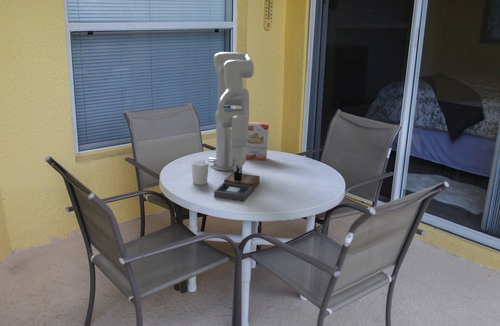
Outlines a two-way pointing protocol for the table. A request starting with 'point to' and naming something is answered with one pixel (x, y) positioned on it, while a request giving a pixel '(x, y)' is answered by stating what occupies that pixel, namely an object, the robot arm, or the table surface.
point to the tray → (243, 195)
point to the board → (244, 180)
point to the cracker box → (257, 141)
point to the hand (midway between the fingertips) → (237, 180)
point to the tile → (233, 190)
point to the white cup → (200, 172)
